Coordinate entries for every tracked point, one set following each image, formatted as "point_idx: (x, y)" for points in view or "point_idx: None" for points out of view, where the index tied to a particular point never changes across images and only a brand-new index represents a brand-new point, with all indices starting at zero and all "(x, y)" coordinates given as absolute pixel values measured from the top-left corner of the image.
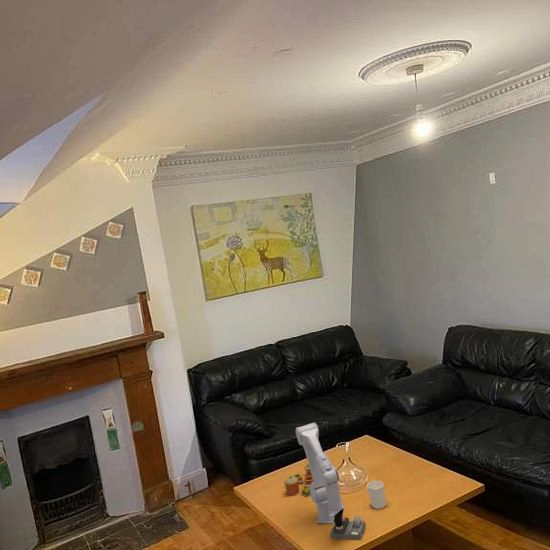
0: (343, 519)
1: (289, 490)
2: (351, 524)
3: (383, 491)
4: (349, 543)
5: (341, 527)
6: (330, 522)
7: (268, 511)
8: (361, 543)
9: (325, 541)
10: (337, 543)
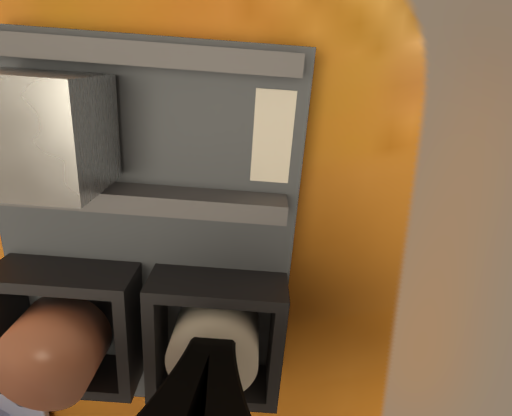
0: (71, 346)
1: None
2: (68, 214)
3: None
4: (376, 181)
5: (238, 334)
6: (40, 412)
7: None
8: (391, 30)
9: (324, 398)
10: (364, 299)
